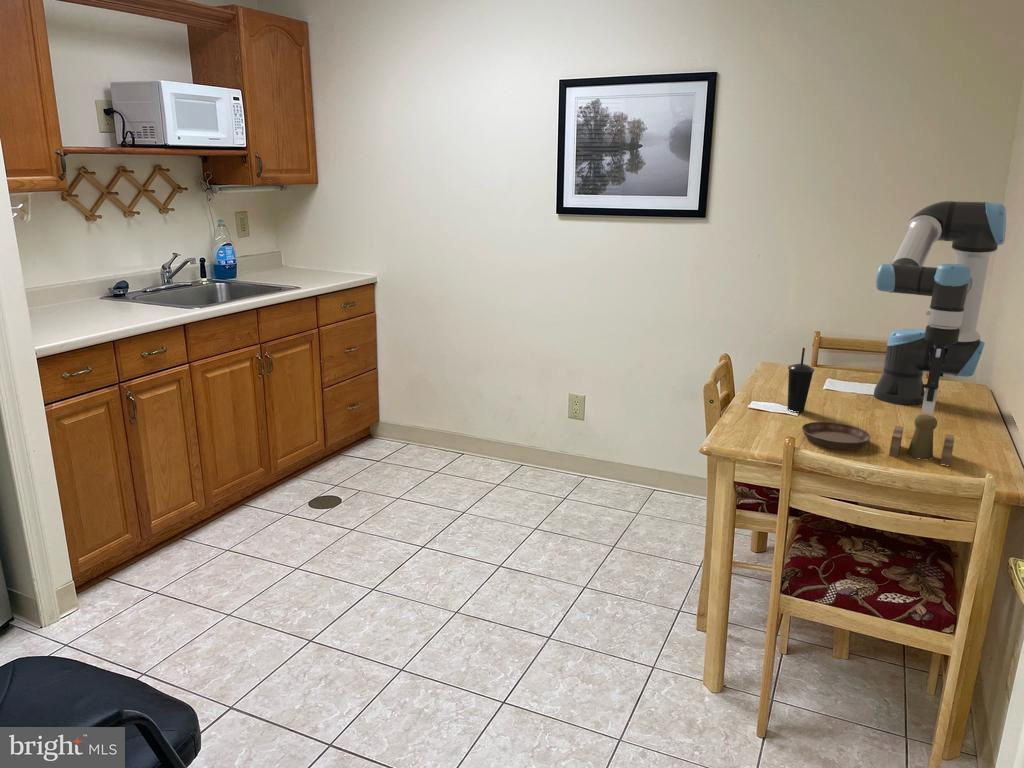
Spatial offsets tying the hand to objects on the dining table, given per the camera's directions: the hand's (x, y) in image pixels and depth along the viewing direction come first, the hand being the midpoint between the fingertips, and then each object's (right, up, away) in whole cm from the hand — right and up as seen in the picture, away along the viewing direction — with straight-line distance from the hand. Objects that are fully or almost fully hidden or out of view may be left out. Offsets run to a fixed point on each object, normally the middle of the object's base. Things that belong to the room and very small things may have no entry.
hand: (928, 406), depth 194 cm
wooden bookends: (0, -13, +4) cm, 14 cm away
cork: (0, -13, +4) cm, 14 cm away
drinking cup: (-19, -3, +40) cm, 44 cm away
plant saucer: (-18, -10, +14) cm, 25 cm away
